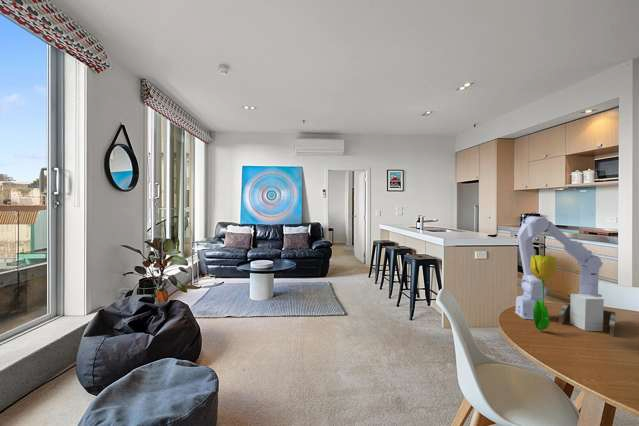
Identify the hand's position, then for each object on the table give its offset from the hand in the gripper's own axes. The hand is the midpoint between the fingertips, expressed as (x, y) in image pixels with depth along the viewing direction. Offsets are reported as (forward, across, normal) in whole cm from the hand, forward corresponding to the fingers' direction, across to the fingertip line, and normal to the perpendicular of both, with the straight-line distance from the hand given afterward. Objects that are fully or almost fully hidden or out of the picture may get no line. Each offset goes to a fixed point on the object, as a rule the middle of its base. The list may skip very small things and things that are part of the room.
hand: (588, 314), depth 126 cm
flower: (+3, -27, +12) cm, 29 cm away
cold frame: (+3, -4, 0) cm, 5 cm away
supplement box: (+3, -8, 0) cm, 9 cm away
